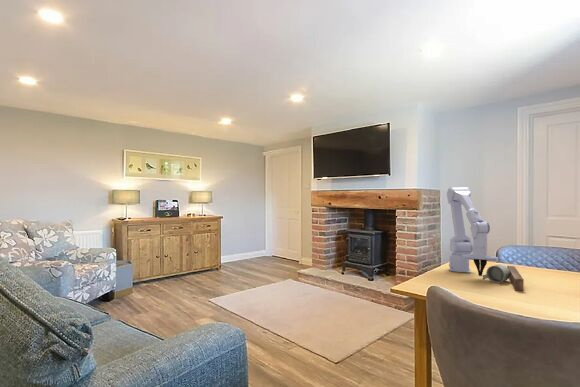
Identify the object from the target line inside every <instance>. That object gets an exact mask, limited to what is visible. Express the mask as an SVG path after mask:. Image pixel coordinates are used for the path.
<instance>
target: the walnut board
mask: <svg viewBox="0 0 580 387" xmlns="http://www.w3.org/2000/svg"><path fill="white" fill-rule="evenodd" d="M506 267H507V268H508V269H509V271H510V277H509V278H508V280H509V282H510V284H511V285H512V287H513V289H514V291H517V292H524V290H525V289H524V288H525V287H524V281H525V280H524V278H523V277H522V275H521V274H520V272H519V271H518V269H517V267H516V266H515V265H514V266H513V265H507V266H506Z"/></svg>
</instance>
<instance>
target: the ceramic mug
mask: <svg viewBox="0 0 580 387" xmlns="http://www.w3.org/2000/svg"><path fill="white" fill-rule="evenodd" d="M481 277H482V278H483V279H488V280H489V281H490V282H492V283H495V284H500V283H502V282H505V281H507V280H509V277H510V271H509V269H508V268H507V266H506V265H504V264H503V265H502V264H496V265H491V266H489V267H487V269H486V272H485V274H482V276H481Z"/></svg>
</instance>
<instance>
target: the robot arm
mask: <svg viewBox="0 0 580 387" xmlns="http://www.w3.org/2000/svg"><path fill="white" fill-rule="evenodd" d="M471 194H472V192H471V189H470V188H469V187H468V186H465V187H464V186H463V187H451V186H450V187H449V188H448V190H447V192H446V196H447V202H448V204H449V205H450V211H451V217H452V218H451V219H452V224H453V233H454V235H453V236H452V237H451V238H450V239H449V250H450V253H449V263H448V267H449V272H458V273H459V272H460V273H466V274H467V273H469V274H470V273H471V268H470V260H471V261H473V263H474V265H475V267H476V269H477V274H478V277H483V276H482V275H483V274H484V270H485V267H486V265H487V262H496V263H499V257H498V256H489V255H488V234H490V231H491V226H490V224H489V222H488V221H486V220H485V219H483V217H482V215H481V214H480V212H479V210H478V209H476V208H475V207H474V204H473V202H472V200H471ZM462 206H463V207H464V209H465V211H466V214H465V216H466V218H467V219H468V222H469V223H470V227H469V229H470V232H471V238H472V239H471V238H470V237H469V236H468V235H466V230H465V223H464V216H463V211H462V209H463V208H462ZM471 253H472V254H471Z"/></svg>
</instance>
